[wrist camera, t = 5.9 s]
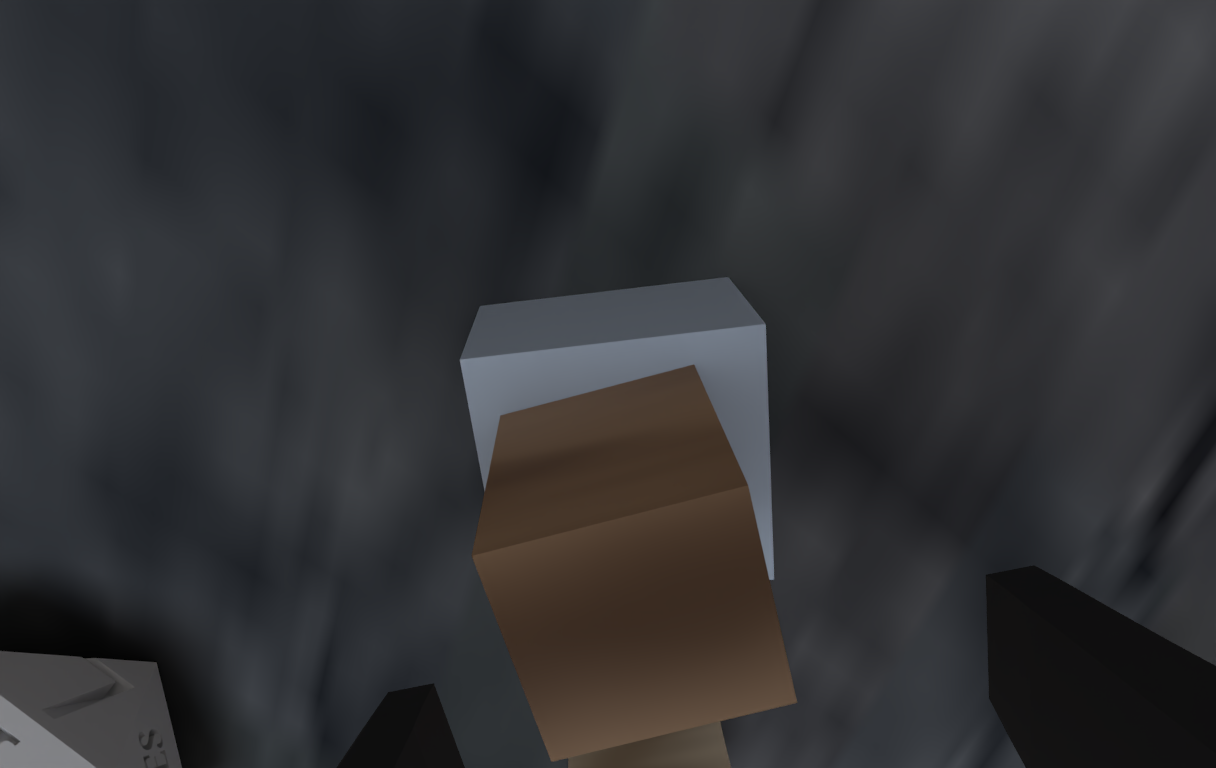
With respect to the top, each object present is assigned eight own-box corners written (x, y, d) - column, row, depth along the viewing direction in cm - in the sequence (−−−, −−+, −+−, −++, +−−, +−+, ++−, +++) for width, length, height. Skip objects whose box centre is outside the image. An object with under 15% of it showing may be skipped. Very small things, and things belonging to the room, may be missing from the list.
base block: (727, 275, 19) (765, 324, 15) (737, 490, 21) (774, 579, 18) (481, 303, 19) (459, 359, 15) (517, 516, 21) (507, 610, 17)
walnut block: (734, 532, 17) (796, 703, 12) (556, 576, 17) (551, 762, 12) (694, 364, 16) (748, 485, 11) (500, 415, 16) (471, 555, 11)
